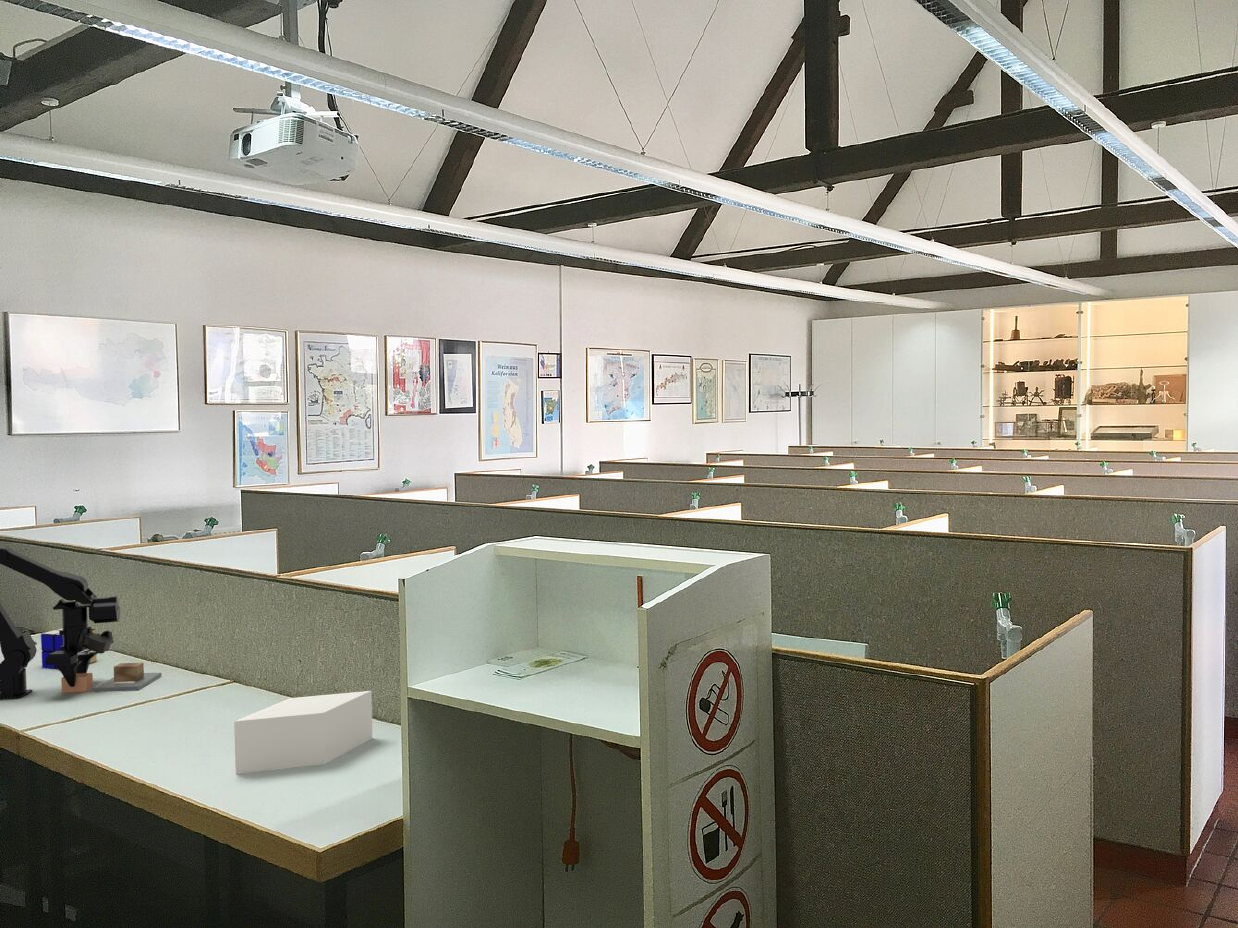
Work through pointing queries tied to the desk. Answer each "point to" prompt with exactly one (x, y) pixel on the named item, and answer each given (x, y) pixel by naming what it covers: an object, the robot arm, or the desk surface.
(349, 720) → the block
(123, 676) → the walnut brick
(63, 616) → the robot arm
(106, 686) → the baseplate
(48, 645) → the puzzle cube
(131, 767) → the desk surface
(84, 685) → the terracotta brick
